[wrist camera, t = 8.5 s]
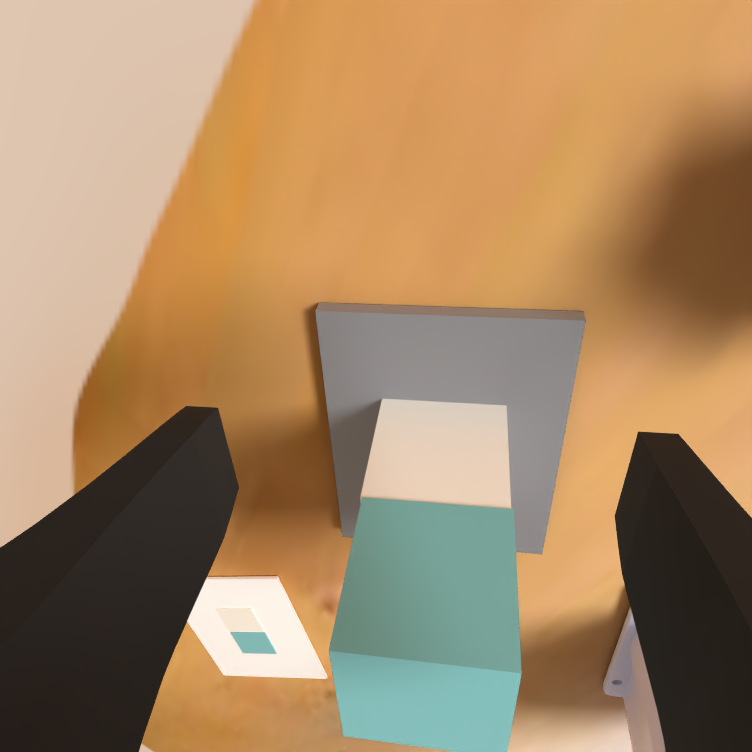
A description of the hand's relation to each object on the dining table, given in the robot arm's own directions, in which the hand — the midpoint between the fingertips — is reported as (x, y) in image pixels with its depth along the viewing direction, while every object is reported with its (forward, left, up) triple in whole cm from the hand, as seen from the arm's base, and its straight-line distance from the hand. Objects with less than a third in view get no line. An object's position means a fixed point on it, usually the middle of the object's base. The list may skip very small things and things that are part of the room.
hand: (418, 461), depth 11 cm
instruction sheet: (-25, +11, -11) cm, 29 cm away
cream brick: (-9, 0, -10) cm, 13 cm away
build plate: (-9, 0, -11) cm, 14 cm away
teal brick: (-9, 0, -5) cm, 10 cm away
